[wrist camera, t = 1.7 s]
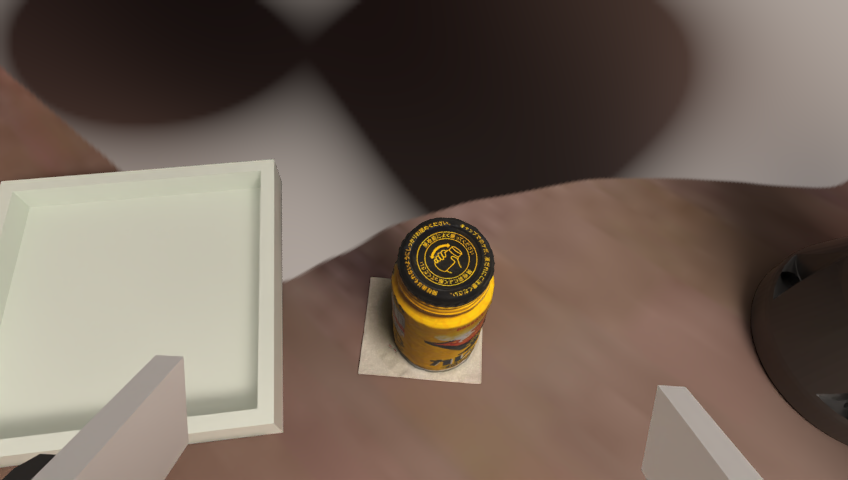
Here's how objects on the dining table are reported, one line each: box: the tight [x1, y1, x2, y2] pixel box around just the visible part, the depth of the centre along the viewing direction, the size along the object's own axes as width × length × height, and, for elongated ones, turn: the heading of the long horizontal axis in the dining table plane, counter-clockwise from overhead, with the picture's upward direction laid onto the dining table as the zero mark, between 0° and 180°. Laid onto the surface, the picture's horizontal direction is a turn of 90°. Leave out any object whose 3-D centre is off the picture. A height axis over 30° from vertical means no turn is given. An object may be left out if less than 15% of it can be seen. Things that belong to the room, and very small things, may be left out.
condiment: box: [358, 218, 495, 384], centre depth 35 cm, size 7×8×12 cm
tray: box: [0, 159, 283, 468], centre depth 39 cm, size 20×20×3 cm
